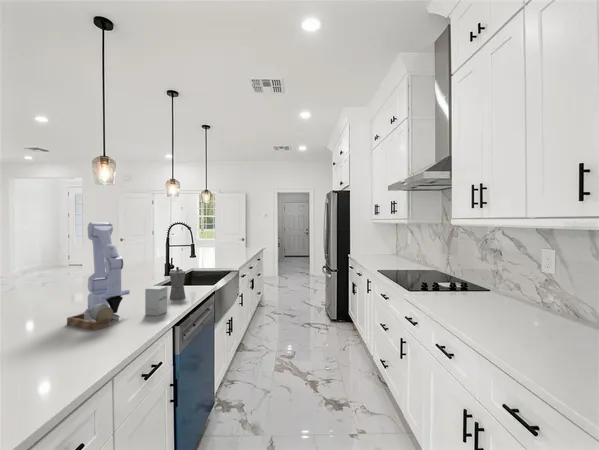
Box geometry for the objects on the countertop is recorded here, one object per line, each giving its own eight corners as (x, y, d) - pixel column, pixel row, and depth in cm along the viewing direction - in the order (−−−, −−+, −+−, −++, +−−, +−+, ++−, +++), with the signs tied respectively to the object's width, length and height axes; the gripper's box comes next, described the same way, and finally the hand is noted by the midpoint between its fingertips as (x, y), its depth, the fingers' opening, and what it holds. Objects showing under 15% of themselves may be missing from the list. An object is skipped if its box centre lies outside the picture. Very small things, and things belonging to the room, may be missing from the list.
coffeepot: (190, 298, 190) (190, 267, 189) (174, 301, 183) (174, 269, 183) (178, 294, 201) (178, 264, 201) (163, 296, 194) (163, 266, 194)
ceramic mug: (96, 326, 139) (96, 307, 139) (89, 322, 145) (89, 304, 145) (122, 320, 148) (122, 303, 148) (115, 317, 153) (115, 300, 153)
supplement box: (158, 316, 155) (158, 289, 154) (144, 315, 156) (144, 288, 156) (167, 311, 162) (167, 286, 162) (154, 310, 163) (154, 285, 163)
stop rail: (67, 324, 141) (66, 317, 141) (82, 320, 147) (82, 313, 147) (94, 330, 134) (94, 323, 134) (109, 325, 140) (109, 318, 140)
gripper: (105, 287, 143) (105, 318, 143) (134, 281, 157) (134, 309, 157) (94, 285, 146) (94, 316, 146) (123, 280, 159) (123, 308, 160)
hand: (114, 312), depth 152 cm, fingers closed
